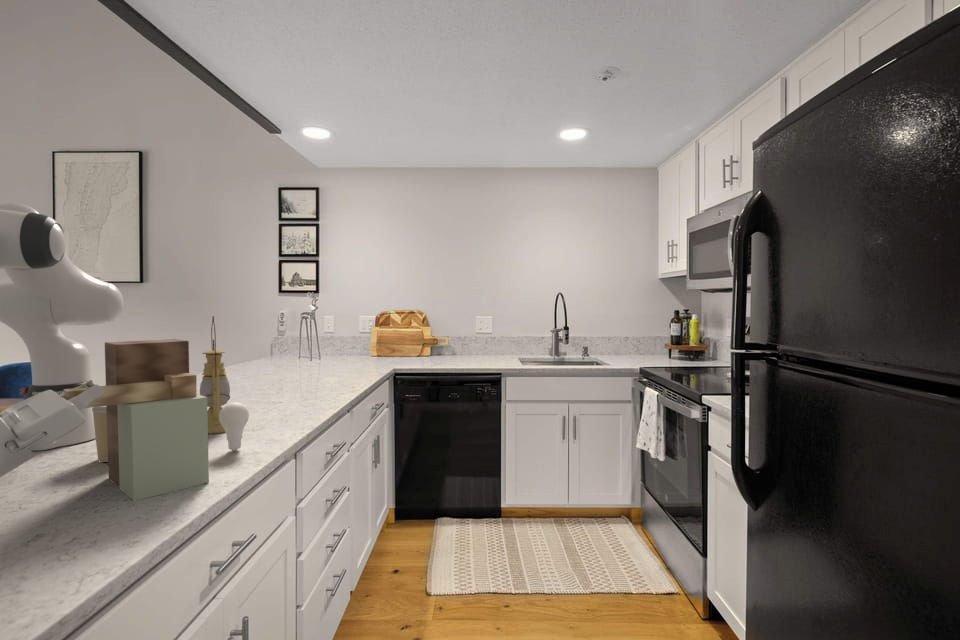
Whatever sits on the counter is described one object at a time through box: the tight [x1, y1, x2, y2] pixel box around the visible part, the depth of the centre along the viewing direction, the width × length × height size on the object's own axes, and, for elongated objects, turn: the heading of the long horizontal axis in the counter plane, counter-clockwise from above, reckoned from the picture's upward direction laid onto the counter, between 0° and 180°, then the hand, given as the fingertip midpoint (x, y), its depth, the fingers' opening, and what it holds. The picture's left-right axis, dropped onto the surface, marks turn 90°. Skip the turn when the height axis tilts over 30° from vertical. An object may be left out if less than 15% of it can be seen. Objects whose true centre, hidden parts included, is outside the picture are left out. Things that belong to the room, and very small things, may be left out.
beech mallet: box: [64, 372, 197, 408], centre depth 92 cm, size 19×4×4 cm, turn 138°
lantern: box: [199, 315, 231, 435], centre depth 136 cm, size 12×10×30 cm
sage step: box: [117, 393, 210, 501], centre depth 95 cm, size 12×9×16 cm
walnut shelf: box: [104, 338, 190, 489], centre depth 101 cm, size 12×8×26 cm, turn 137°
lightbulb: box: [219, 401, 250, 452], centre depth 117 cm, size 6×6×11 cm
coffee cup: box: [92, 406, 108, 463], centre depth 113 cm, size 9×9×12 cm
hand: (97, 386), depth 88 cm, fingers open, 3 cm apart
